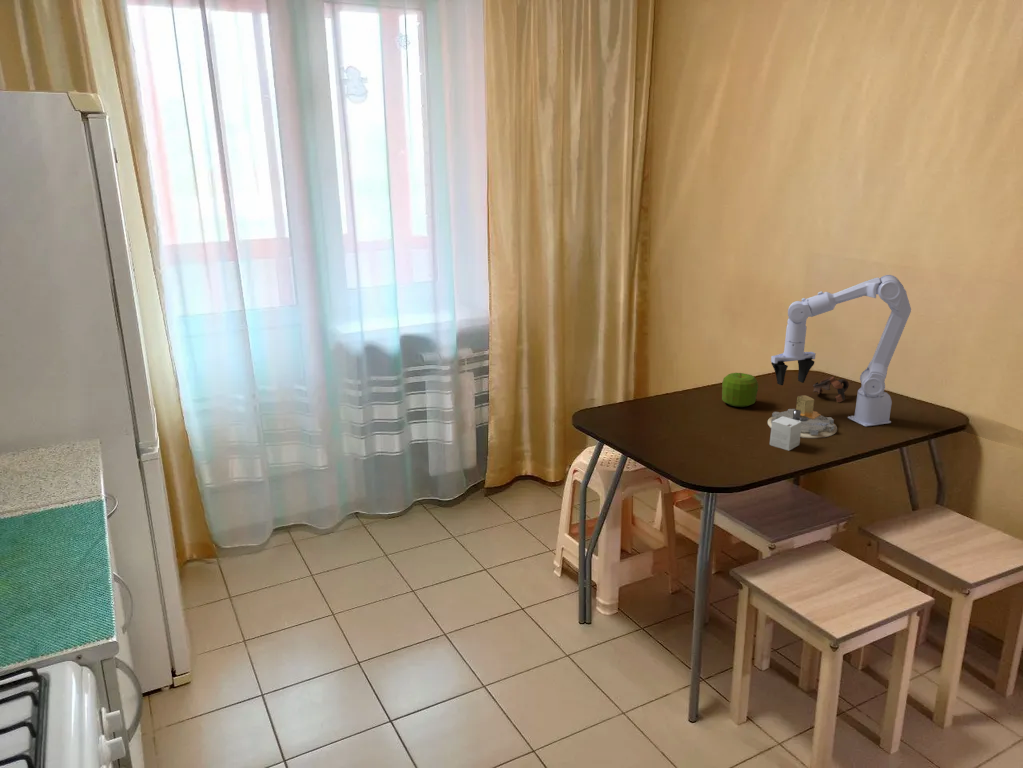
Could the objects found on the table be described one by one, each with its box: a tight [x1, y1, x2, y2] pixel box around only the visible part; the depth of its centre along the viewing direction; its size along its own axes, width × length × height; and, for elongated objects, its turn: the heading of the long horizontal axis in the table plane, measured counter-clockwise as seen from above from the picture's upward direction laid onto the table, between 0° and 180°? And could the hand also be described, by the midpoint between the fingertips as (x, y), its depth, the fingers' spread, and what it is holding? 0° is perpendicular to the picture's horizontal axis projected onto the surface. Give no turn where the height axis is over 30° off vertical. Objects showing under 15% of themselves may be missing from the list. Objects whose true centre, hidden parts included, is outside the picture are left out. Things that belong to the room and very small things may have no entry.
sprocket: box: [771, 408, 835, 435], centre depth 224 cm, size 18×18×6 cm
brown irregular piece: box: [812, 376, 850, 403], centre depth 248 cm, size 12×10×8 cm
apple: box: [721, 372, 759, 408], centre depth 242 cm, size 11×11×11 cm
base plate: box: [767, 416, 838, 439], centre depth 225 cm, size 20×20×1 cm
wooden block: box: [795, 394, 815, 416], centre depth 228 cm, size 4×3×5 cm
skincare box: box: [769, 416, 802, 451], centre depth 210 cm, size 6×6×7 cm
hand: (790, 383), depth 232 cm, fingers open, 7 cm apart
